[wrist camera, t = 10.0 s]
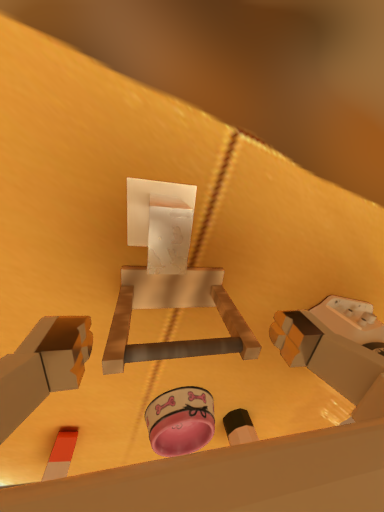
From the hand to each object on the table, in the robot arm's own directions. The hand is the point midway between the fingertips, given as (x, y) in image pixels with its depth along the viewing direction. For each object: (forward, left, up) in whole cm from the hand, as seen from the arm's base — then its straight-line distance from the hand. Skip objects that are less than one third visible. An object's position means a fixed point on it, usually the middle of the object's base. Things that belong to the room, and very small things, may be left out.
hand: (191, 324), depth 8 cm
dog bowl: (-8, +52, -24) cm, 58 cm away
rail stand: (-3, +13, -24) cm, 27 cm away
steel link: (0, 0, -23) cm, 23 cm away
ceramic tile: (0, 0, -24) cm, 24 cm away
